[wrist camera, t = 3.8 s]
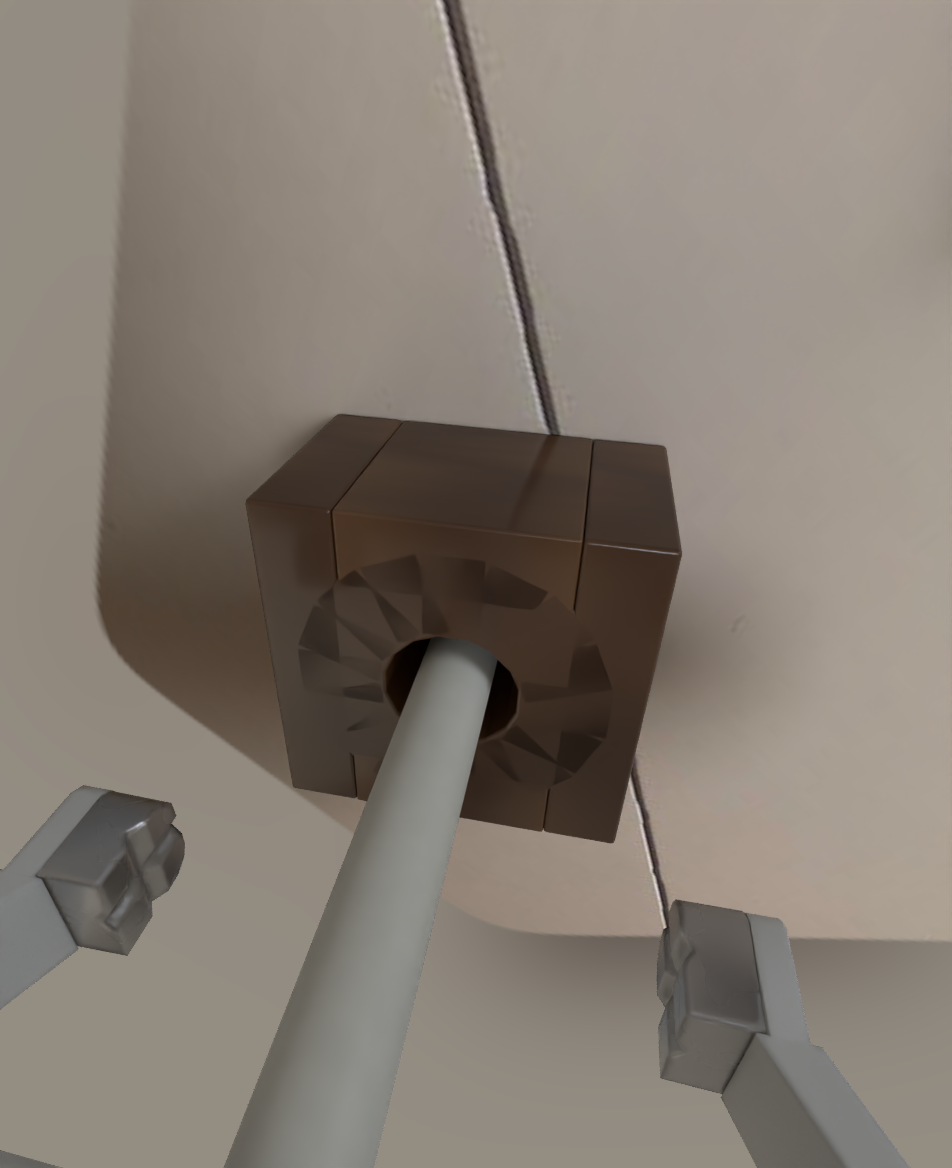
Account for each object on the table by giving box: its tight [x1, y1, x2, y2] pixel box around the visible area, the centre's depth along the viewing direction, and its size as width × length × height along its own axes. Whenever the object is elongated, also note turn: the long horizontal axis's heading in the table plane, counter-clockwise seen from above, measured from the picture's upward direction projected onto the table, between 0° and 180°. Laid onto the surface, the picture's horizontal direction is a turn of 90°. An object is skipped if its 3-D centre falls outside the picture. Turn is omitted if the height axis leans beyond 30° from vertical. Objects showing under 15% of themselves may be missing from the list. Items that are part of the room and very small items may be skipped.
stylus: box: [224, 637, 498, 1168], centre depth 13 cm, size 2×2×14 cm
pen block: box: [246, 415, 682, 843], centre depth 16 cm, size 8×8×5 cm
